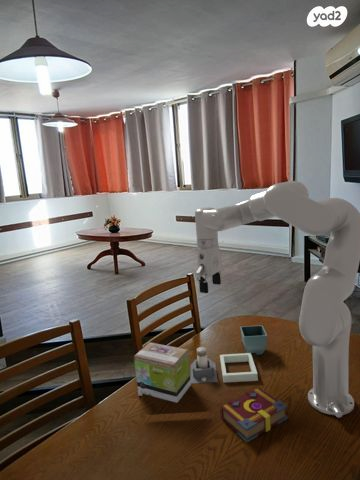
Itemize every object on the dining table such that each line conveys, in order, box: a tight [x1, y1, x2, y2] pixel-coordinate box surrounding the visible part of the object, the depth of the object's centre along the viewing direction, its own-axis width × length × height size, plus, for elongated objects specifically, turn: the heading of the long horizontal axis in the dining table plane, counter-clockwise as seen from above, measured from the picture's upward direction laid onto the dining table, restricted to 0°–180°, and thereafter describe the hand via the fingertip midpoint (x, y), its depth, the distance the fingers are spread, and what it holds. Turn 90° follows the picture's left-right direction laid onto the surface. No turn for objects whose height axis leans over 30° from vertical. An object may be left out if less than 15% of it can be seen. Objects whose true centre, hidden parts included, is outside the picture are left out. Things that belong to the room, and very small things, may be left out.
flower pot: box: [239, 325, 268, 356], centre depth 134 cm, size 9×9×9 cm
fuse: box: [196, 346, 208, 368], centre depth 121 cm, size 4×4×9 cm
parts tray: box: [219, 352, 259, 384], centre depth 121 cm, size 13×11×4 cm
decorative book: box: [220, 387, 288, 443], centre depth 99 cm, size 11×16×5 cm
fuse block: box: [190, 358, 218, 384], centre depth 122 cm, size 12×9×4 cm
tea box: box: [133, 341, 192, 403], centre depth 114 cm, size 15×10×15 cm, turn 62°
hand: (210, 288), depth 128 cm, fingers open, 9 cm apart
